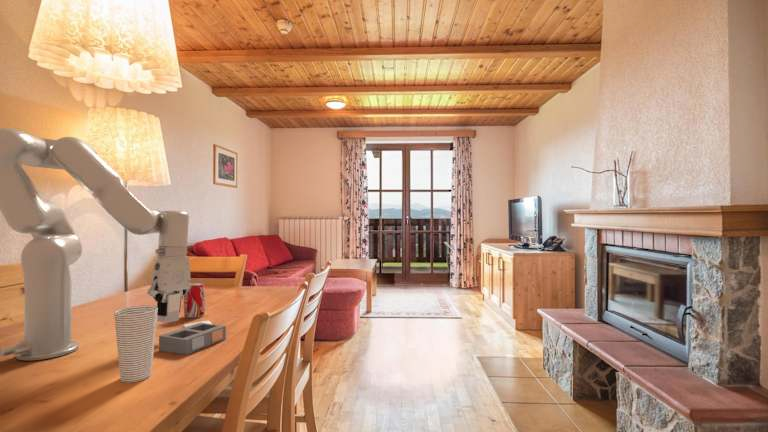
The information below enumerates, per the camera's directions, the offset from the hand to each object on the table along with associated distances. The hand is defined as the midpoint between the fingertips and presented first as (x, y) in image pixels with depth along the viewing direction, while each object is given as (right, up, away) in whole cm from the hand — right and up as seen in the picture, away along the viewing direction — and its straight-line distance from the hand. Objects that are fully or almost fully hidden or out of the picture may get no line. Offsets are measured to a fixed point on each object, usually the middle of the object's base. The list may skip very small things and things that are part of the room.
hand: (168, 313), depth 115 cm
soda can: (-6, -8, +28) cm, 29 cm away
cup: (+7, -8, -26) cm, 29 cm away
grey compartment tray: (+9, -8, -4) cm, 13 cm away
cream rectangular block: (0, -2, 0) cm, 2 cm away
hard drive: (+4, -9, +11) cm, 15 cm away
